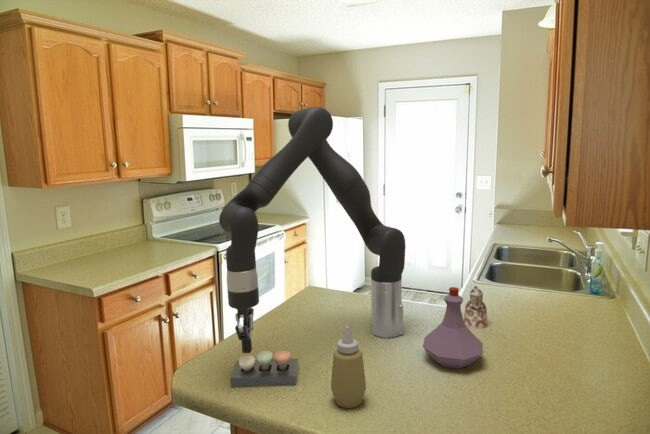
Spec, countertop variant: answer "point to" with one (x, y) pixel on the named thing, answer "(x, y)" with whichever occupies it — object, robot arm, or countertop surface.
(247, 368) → the ivory button
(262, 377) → the panel
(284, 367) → the terracotta button
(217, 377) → the countertop surface
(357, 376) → the squeeze bottle
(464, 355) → the flask
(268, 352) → the sage button
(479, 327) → the figurine
